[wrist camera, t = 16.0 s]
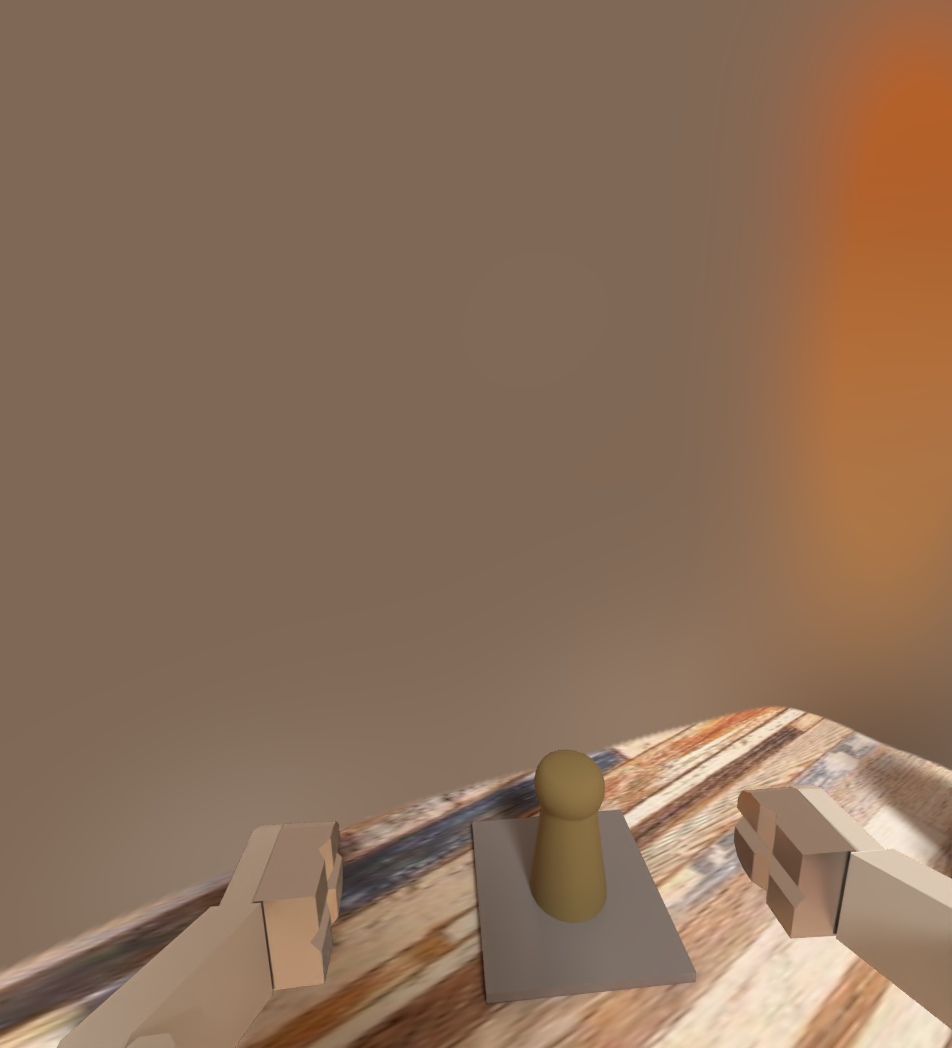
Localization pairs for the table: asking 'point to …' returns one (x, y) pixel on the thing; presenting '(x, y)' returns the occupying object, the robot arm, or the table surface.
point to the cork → (569, 838)
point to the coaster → (571, 948)
